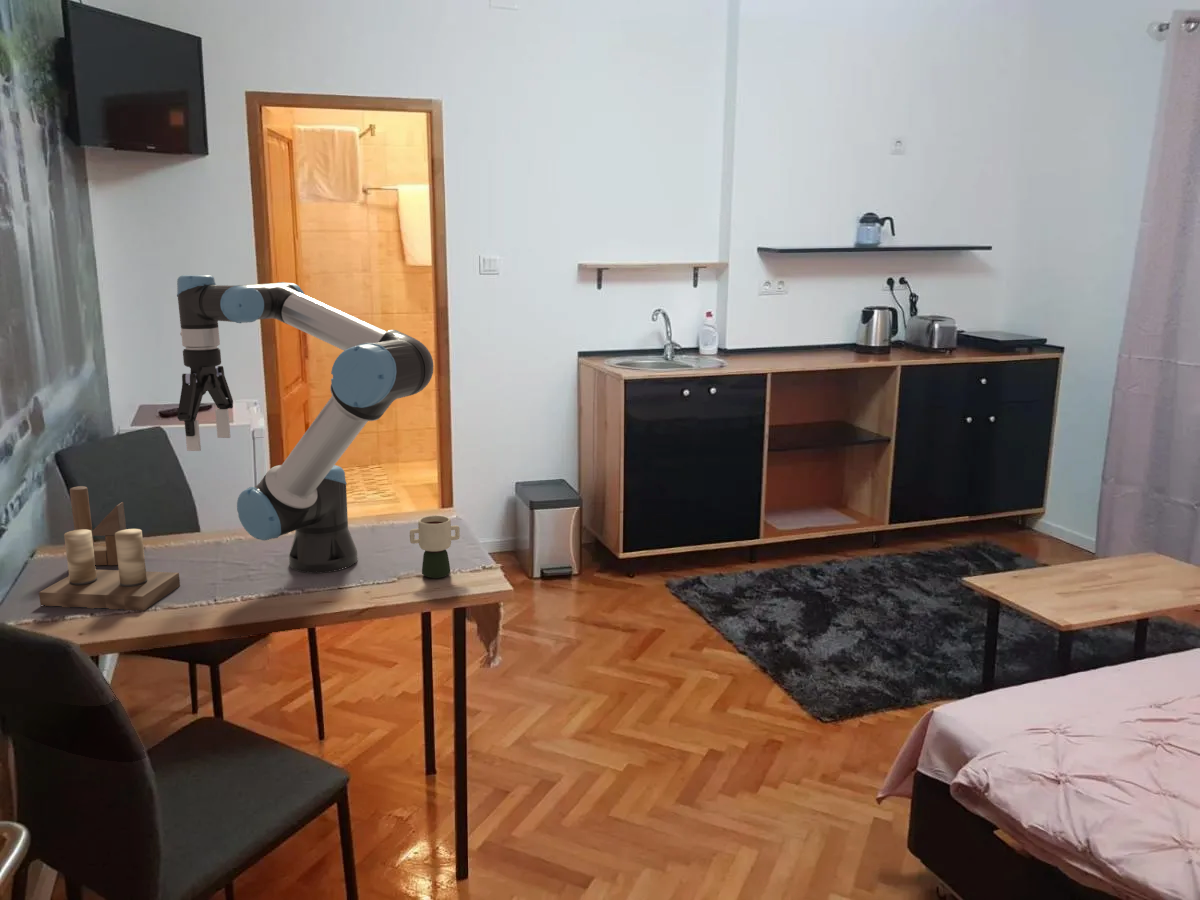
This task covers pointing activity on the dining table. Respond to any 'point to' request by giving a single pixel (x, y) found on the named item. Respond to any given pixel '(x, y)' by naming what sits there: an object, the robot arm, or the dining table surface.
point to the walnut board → (102, 581)
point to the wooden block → (105, 528)
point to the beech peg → (130, 557)
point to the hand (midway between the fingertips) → (209, 444)
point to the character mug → (435, 544)
